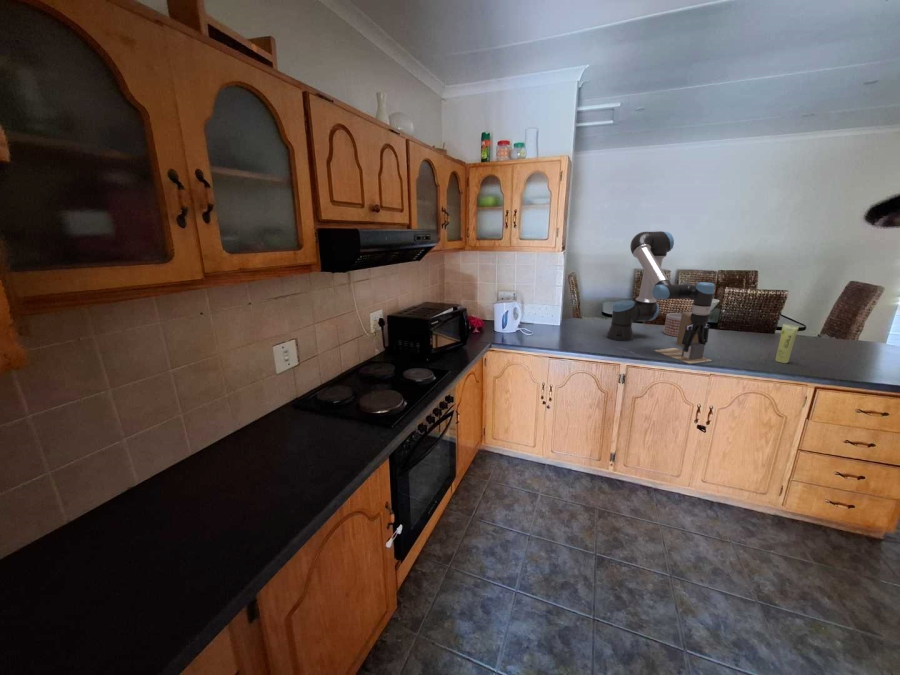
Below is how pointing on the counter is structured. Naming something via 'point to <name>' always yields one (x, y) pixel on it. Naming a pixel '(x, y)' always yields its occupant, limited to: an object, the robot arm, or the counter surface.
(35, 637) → the counter surface
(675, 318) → the planter
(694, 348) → the block
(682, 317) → the wooden block
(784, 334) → the tube
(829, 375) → the counter surface
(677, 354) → the board
